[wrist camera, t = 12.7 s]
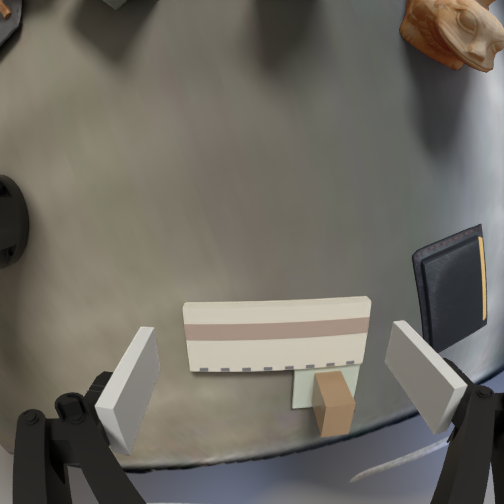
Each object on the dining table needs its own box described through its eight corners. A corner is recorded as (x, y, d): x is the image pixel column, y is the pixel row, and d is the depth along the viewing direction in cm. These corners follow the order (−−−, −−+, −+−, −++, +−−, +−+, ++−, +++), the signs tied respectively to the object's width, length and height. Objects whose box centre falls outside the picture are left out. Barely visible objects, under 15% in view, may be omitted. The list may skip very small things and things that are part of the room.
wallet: (415, 253, 39) (488, 223, 38) (409, 250, 41) (481, 221, 40) (425, 364, 44) (490, 328, 43) (420, 358, 46) (484, 324, 45)
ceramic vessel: (386, 59, 34) (441, 18, 20) (406, -45, 28) (443, -87, 14) (460, 103, 35) (527, 87, 21) (469, -6, 30) (515, -34, 15)
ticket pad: (192, 363, 44) (190, 371, 42) (185, 302, 42) (182, 308, 40) (358, 356, 44) (362, 363, 42) (366, 295, 42) (371, 301, 40)
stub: (291, 404, 46) (299, 443, 37) (294, 365, 44) (303, 403, 35) (351, 398, 46) (366, 434, 37) (358, 359, 44) (377, 394, 35)
